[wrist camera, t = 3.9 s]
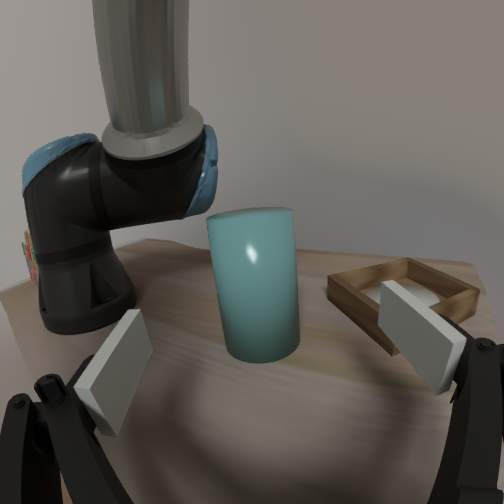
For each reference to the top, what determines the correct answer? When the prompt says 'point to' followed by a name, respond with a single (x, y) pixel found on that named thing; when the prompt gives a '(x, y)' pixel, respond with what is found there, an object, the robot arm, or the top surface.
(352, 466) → the top surface
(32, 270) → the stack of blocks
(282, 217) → the teal cylinder
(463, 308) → the walnut tray
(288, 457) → the top surface
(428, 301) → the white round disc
